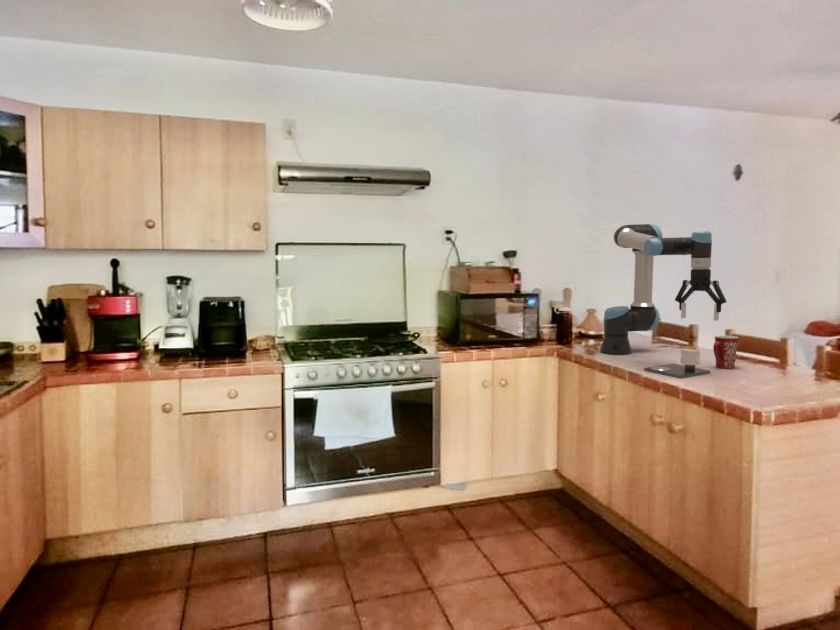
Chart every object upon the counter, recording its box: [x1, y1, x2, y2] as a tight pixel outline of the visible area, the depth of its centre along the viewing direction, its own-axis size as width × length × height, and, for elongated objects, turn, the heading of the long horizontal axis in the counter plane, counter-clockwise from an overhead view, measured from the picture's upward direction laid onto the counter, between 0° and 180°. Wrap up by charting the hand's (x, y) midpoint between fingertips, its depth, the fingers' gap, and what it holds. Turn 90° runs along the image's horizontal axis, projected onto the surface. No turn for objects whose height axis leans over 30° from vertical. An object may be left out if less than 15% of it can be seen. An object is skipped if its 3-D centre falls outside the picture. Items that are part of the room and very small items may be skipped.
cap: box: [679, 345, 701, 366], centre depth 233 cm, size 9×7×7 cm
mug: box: [712, 334, 739, 369], centre depth 242 cm, size 13×9×14 cm
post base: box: [644, 363, 711, 379], centre depth 235 cm, size 18×18×9 cm
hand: (699, 319), depth 234 cm, fingers open, 13 cm apart
